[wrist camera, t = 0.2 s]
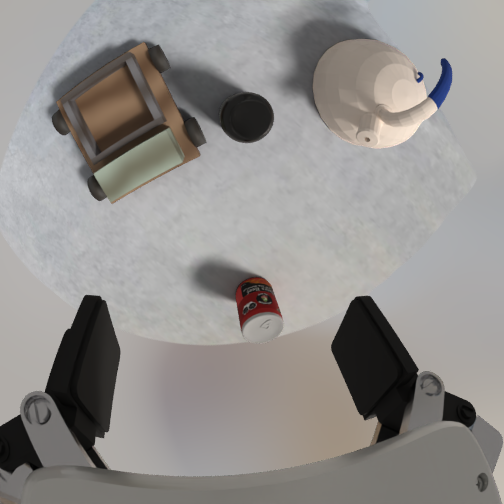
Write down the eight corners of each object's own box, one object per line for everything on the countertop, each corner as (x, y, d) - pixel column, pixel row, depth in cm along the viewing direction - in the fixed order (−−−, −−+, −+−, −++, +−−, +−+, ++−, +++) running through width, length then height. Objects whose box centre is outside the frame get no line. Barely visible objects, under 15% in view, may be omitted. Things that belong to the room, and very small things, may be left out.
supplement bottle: (252, 87, 36) (269, 82, 26) (268, 125, 39) (290, 135, 29) (210, 104, 36) (211, 105, 26) (228, 142, 40) (236, 157, 30)
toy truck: (58, 106, 31) (36, 110, 25) (158, 41, 29) (148, 30, 23) (110, 201, 41) (96, 219, 35) (209, 147, 40) (210, 156, 34)
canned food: (276, 278, 56) (290, 315, 47) (265, 306, 60) (276, 344, 50) (239, 273, 54) (248, 313, 45) (231, 303, 58) (237, 343, 48)
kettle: (285, 89, 37) (335, 87, 22) (360, 20, 30) (429, 1, 15) (362, 168, 46) (425, 208, 31) (422, 101, 39) (492, 118, 24)
